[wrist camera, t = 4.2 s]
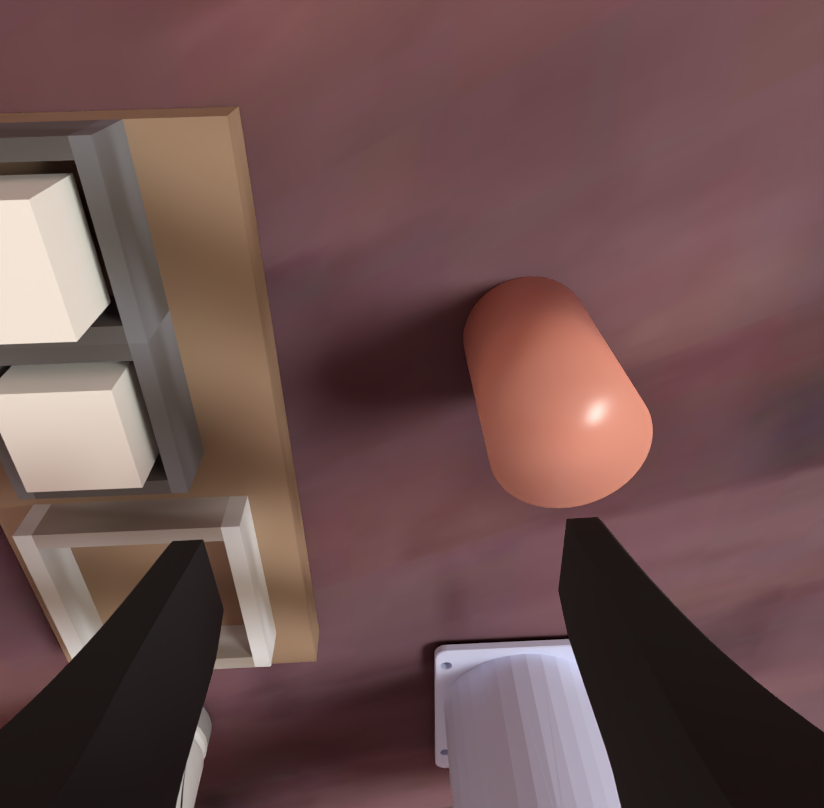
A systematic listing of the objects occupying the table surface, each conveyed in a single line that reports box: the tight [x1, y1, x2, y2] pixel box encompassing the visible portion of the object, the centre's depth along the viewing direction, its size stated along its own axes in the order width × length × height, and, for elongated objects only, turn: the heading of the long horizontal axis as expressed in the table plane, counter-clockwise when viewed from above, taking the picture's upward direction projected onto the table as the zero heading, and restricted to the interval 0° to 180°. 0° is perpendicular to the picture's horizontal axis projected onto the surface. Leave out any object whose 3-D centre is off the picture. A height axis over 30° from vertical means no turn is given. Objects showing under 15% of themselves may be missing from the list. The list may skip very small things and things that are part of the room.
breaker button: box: [0, 173, 111, 345], centre depth 15 cm, size 3×3×2 cm
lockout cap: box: [463, 277, 653, 508], centre depth 18 cm, size 4×4×6 cm
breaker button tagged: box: [0, 361, 159, 492], centre depth 18 cm, size 3×3×2 cm
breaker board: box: [0, 106, 319, 669], centre depth 21 cm, size 21×10×4 cm, turn 1°
